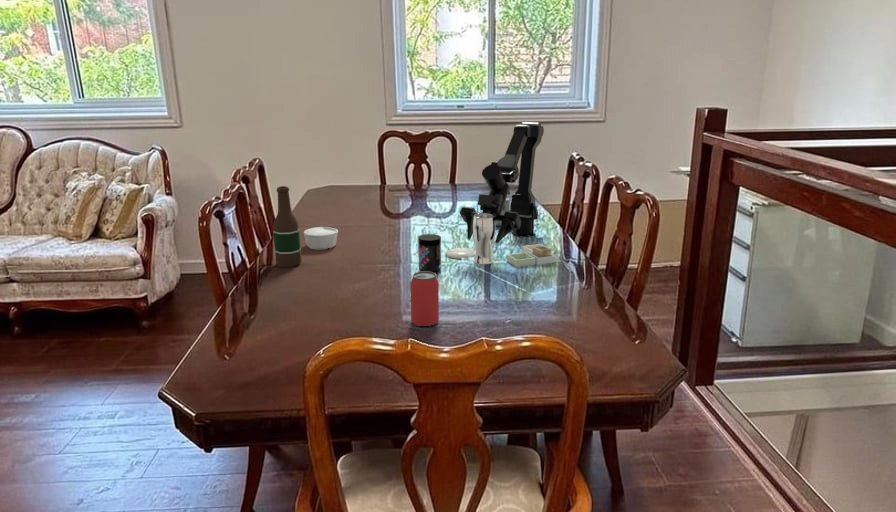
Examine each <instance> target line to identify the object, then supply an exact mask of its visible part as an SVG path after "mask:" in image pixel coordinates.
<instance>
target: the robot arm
mask: <svg viewBox="0 0 896 512" xmlns="http://www.w3.org/2000/svg"><path fill="white" fill-rule="evenodd" d="M544 132H545V128H544V126H543V125H542V124H541V123H540V122H531V121H529V122H527V121H525V122H524V121H522V122H521V124H515V126H514V127H513V134H512V136H511V139H510V141H509V144H508V146H507V148H506V151H505V153H504V155H503V157H501V158H500V159H498V160H497V161H491V164H488V165H487V166H485V167H484V168H482V170H481V171H482V172H481V175H482V178H483V180H484V182H485V185H486V186H487V188H488V189H489V192H488V194H482V193H481V194H480V193H479V195H478V200H477V205H478V206H480V210H481V211H482V212H479V211H476V209H475V207H472V206H462V207H461V208H460V211H459V215H460V216H461V218H462V220H463V222H464V223H466V229H467V231H466V232H467V234H466V235H467V240H468V241H469V240H471V238H473V217H474V215H475V214H478V213H490V214H494V215H495V221H501V222H502V223H501V226H499V227H500V228H499V230H498V233H497V236H496V237H495V238H496V239H495V244H499V243H500V242H501V241H502V240H503V238H505V237H506V236H507V235H509V234H510V233H512V234H513V235H515V236H516V237H519V238H526V237H533V236H536V233H535V232H534V228H535V220H538V217H539V210H538V207H537V205H536V198H535V196H534V193H533V192H532V187H533V176H534V170H535V169H534V168H535V167H534V166H535V156H536V150H537V148H538V146H539V145H540V143H542V138H543V135H544ZM519 160H520V164H519ZM518 164H519V165H520V167H518ZM517 180H518V184H517V190H516V191H515V193H513V194H512V196H511V201H510V211H506V212H505V214H504V215H501V213H502V210H503V209H505V205H504V204H505V201H506V198H508V196H510V194H511V191H510V189H511V188H510V185H509V184H514V183H516V181H517Z"/></svg>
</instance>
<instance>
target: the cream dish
mask: <svg viewBox="0 0 896 512" xmlns="http://www.w3.org/2000/svg"><path fill="white" fill-rule="evenodd" d="M538 246H544V245H543V244H541V243H535V244H527V245H522V252H521V253H524V252H525V253H527V254H528V252H533V247H538Z"/></svg>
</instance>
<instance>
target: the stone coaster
mask: <svg viewBox="0 0 896 512" xmlns="http://www.w3.org/2000/svg"><path fill="white" fill-rule="evenodd" d="M445 256H446V257H448V258H451V259H455V260H462V259H464V258H465V259H466V258H472V257H475V249H471V248H467V247H457V248H456V247H455V248H451V249H448V250H446V251H445Z"/></svg>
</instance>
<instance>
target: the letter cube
mask: <svg viewBox="0 0 896 512" xmlns="http://www.w3.org/2000/svg"><path fill="white" fill-rule="evenodd" d="M551 254H552V248H551V247H547V246H545V245H543V246H538V247H533V255H535V256H537V257H538V258H540V257H547V256H551Z"/></svg>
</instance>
